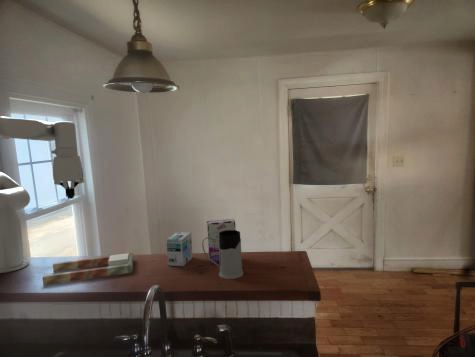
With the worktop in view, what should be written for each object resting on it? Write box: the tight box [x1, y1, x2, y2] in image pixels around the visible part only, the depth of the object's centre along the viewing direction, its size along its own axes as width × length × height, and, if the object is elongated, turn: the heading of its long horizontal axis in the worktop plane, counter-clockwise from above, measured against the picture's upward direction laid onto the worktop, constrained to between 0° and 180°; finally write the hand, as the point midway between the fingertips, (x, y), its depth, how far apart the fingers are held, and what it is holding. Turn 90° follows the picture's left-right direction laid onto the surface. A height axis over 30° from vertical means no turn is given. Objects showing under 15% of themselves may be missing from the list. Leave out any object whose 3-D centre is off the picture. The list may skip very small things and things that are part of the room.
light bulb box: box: [166, 231, 193, 267], centre depth 122 cm, size 11×7×11 cm, turn 168°
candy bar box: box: [206, 218, 237, 265], centre depth 121 cm, size 11×5×16 cm, turn 102°
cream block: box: [107, 252, 130, 267], centre depth 120 cm, size 7×7×4 cm
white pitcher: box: [201, 230, 244, 280], centre depth 108 cm, size 9×14×15 cm, turn 91°
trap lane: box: [42, 252, 134, 286], centre depth 115 cm, size 29×14×3 cm, turn 107°
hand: (70, 198), depth 123 cm, fingers closed
